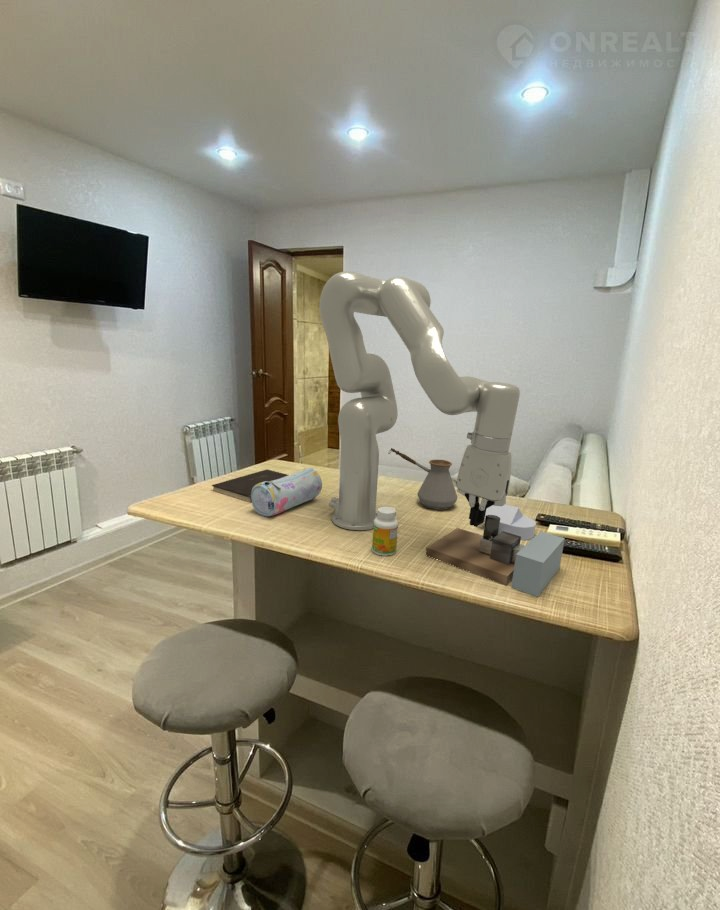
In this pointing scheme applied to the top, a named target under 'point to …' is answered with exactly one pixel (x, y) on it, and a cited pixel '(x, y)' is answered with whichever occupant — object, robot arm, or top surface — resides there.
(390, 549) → the supplement bottle
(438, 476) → the coffee pot
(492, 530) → the bolt
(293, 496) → the pencil case
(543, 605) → the top surface
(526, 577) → the block
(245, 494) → the hardcover book
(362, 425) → the robot arm
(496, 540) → the door panel
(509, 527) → the wedge on round base
